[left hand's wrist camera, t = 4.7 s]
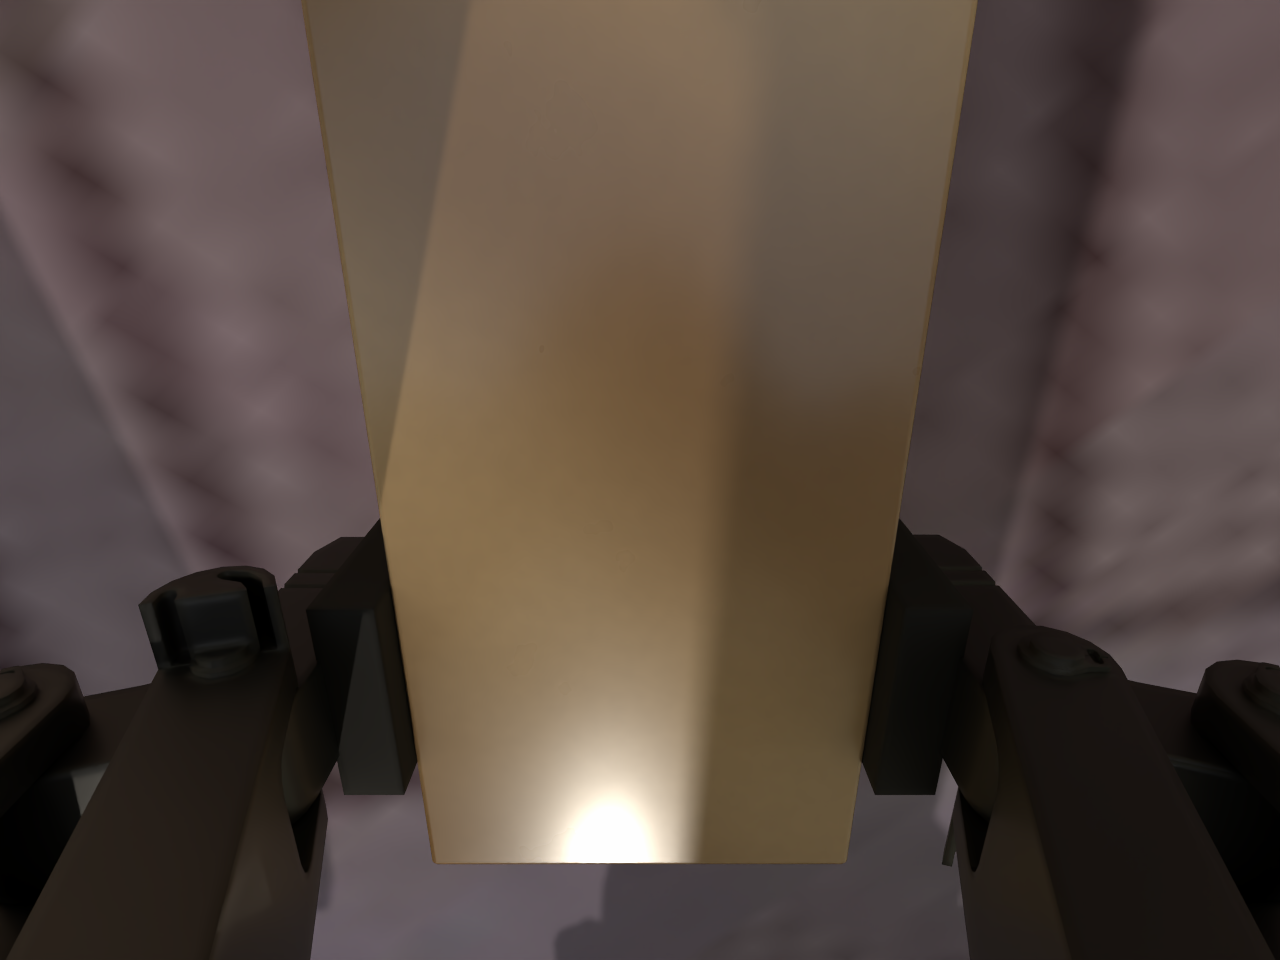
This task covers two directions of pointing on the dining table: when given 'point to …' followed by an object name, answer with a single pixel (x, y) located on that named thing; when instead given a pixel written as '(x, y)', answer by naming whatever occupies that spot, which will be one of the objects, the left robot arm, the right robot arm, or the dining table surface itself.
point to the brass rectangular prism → (639, 397)
